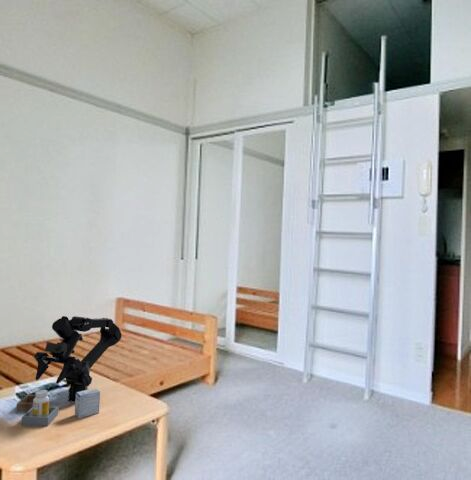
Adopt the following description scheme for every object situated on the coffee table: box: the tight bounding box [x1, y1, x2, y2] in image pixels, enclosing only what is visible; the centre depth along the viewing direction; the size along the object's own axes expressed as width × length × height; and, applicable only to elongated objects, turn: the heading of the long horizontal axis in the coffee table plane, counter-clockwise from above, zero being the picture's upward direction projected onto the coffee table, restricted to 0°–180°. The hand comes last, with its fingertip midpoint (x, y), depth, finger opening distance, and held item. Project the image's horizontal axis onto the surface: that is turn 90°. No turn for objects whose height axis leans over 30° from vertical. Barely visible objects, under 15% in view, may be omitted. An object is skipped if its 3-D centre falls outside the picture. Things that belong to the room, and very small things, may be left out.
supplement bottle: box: [33, 389, 50, 417], centre depth 150 cm, size 5×5×10 cm
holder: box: [16, 394, 50, 412], centre depth 160 cm, size 9×9×3 cm
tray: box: [21, 406, 59, 427], centre depth 150 cm, size 9×9×3 cm
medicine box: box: [74, 387, 101, 419], centre depth 156 cm, size 8×4×9 cm, turn 134°
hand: (46, 381), depth 152 cm, fingers open, 9 cm apart
